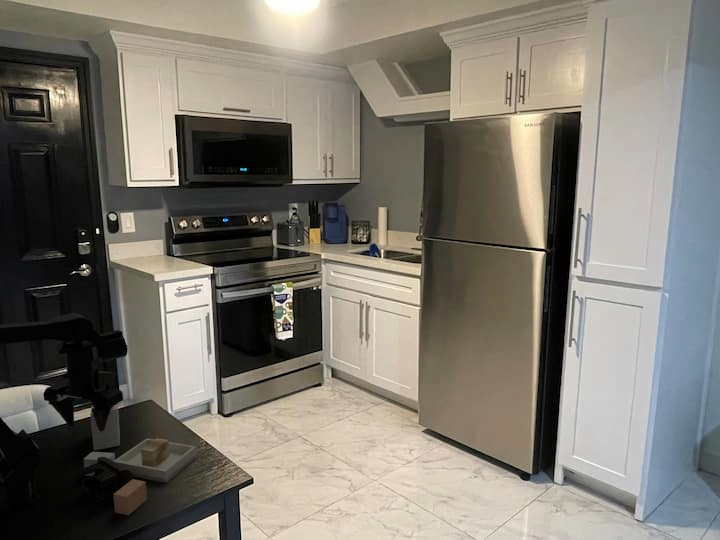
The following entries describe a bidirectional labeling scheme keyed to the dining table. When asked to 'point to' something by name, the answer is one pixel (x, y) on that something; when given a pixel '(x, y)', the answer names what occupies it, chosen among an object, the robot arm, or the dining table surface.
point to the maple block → (155, 452)
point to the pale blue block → (93, 459)
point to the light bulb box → (106, 431)
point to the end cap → (105, 479)
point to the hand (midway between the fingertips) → (86, 428)
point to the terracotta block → (130, 497)
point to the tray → (166, 469)
